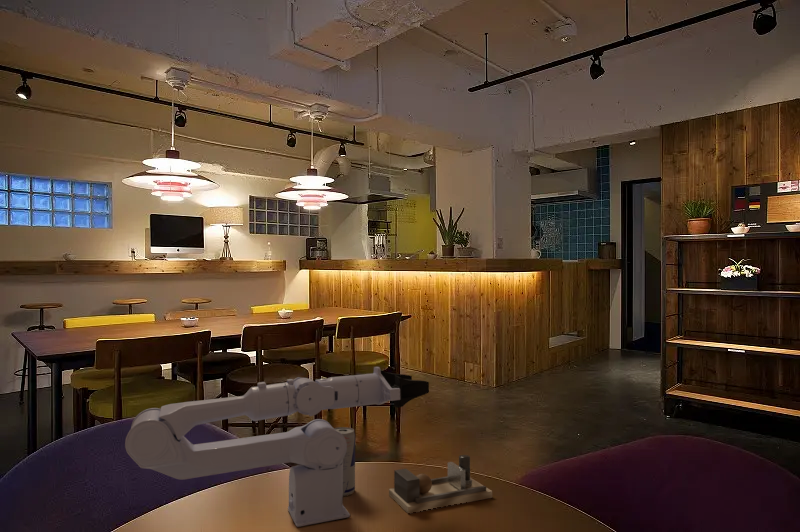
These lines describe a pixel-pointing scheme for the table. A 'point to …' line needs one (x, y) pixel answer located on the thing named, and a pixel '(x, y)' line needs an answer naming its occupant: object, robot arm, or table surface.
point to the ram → (460, 473)
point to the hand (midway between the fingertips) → (419, 383)
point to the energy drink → (348, 460)
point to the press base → (432, 492)
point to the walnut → (424, 483)
